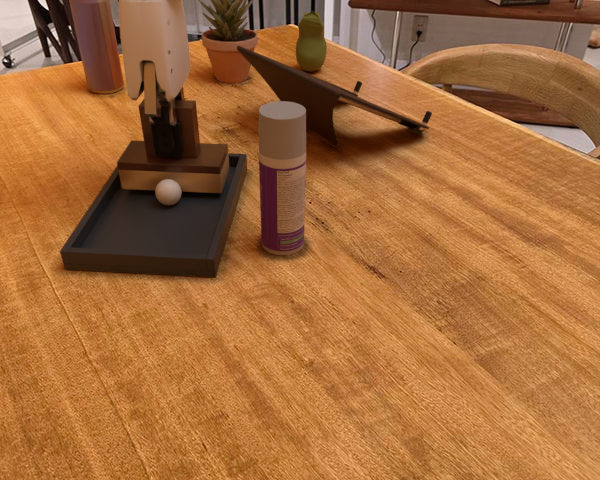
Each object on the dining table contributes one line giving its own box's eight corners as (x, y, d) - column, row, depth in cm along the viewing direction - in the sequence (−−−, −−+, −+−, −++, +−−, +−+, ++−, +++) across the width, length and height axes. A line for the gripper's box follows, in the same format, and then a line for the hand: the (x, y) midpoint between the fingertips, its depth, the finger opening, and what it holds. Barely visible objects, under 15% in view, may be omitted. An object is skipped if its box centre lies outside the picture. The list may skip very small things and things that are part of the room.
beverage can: (98, 97, 97) (77, -3, 87) (82, 87, 100) (60, -10, 91) (131, 89, 100) (114, -9, 90) (114, 79, 103) (96, -16, 94)
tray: (64, 269, 60) (59, 251, 59) (131, 164, 79) (128, 148, 77) (215, 277, 60) (214, 259, 58) (247, 170, 78) (246, 153, 76)
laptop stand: (422, 179, 89) (450, 120, 86) (317, 149, 73) (347, 76, 69) (326, 128, 103) (347, 75, 100) (220, 94, 87) (241, 30, 83)
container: (255, 236, 66) (250, 104, 56) (294, 228, 67) (295, 97, 58) (270, 259, 62) (267, 122, 53) (310, 250, 64) (315, 115, 54)
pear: (326, 66, 110) (329, 8, 104) (324, 76, 106) (326, 16, 100) (297, 65, 111) (297, 7, 105) (293, 74, 107) (294, 15, 100)
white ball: (156, 207, 70) (151, 198, 67) (159, 183, 70) (154, 173, 67) (181, 210, 70) (177, 201, 67) (184, 186, 70) (181, 176, 67)
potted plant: (258, 67, 109) (253, -91, 94) (259, 86, 102) (254, -83, 86) (203, 68, 109) (190, -92, 93) (201, 86, 101) (186, -84, 86)
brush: (121, 189, 70) (106, 111, 64) (135, 166, 75) (122, 91, 69) (221, 193, 70) (215, 115, 64) (229, 170, 74) (224, 95, 68)
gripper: (135, -41, 65) (158, 121, 76) (84, -7, 52) (121, 180, 64) (203, -39, 64) (216, 123, 76) (168, -5, 52) (190, 183, 63)
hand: (172, 148), depth 70 cm, fingers closed on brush, 2 cm apart
